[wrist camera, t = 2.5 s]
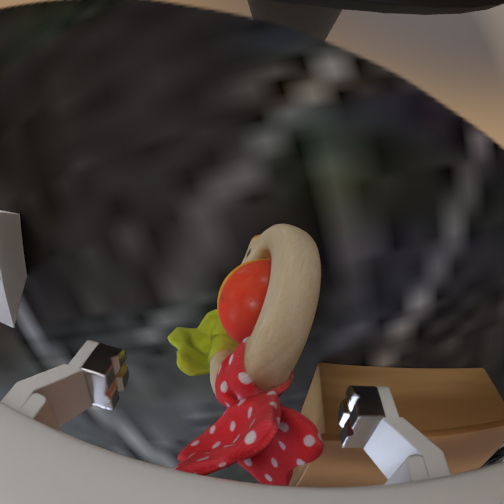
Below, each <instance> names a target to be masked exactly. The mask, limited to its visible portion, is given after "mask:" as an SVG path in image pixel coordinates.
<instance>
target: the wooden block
mask: <svg viewBox="0 0 504 504" xmlns="http://www.w3.org/2000/svg"><path fill="white" fill-rule="evenodd" d="M350 385H356V386H388V387H389V388H390V391H391V394H392V397H393V400H394V402H395V405H396V408H397V411H398V414H399V417H403V418H404V419H405V420H407V421H408V422H409V423H410V424H411V425H413V426H414V427H415V428H416V429H417V430H418V431H420V432H421V433H422V434H423V435H424V436H426V437H427V438H428V439H429V440H430V441H432V442H433V443H434V444H435V445H436V446H438V447H439V448H440V449H441V450H442V451H443V452H444V455H445V458H446V461H447V464H448V467H449V470H450V473H451V475H453V474H458V473H462V472H467V471H471V470H475V469H479V468H480V467H481V466H482V465H483V464H484V463H485V462H486V461H487V460H488V459H489V458H490V457H491V456H492V455H493V454H494V453H495V452H496V451H497V450H498V449H499V448H500V447H501V445H502V444H503V443H504V401H503V400H502V398H501V396H500V394H499V393H498V391H497V389H496V388H495V386H494V384H493V382H492V381H491V379H490V378H489V376H488V374H487V373H486V371H485V369H484V368H392V367H372V366H356V365H342V364H330V363H318V364H317V367H316V370H315V373H314V376H313V379H312V382H311V385H310V388H309V391H308V394H307V396H306V399H305V402H304V405H303V407H302V410H301V414H302V415H304V416H305V417H307V418H308V419H310V420H311V421H312V422H313V423H314V424H315V425H316V427H317V429H318V432H319V435H320V437H321V439H322V441H323V443H324V449H323V452H322V454H321V456H320V457H318V458H317V459H316V460H314V461H313V462H311V463H307V464H304V465H299V466H297V467H295V468H294V469H293V475H292V478H291V481H290V484H289V486H298V487H356V486H373V485H384V484H385V483H386V482H387V481H388V479H387V478H386V476H385V475H384V474H383V473H382V472H381V470H380V469H379V468H378V467H377V465H376V464H375V463H374V462H373V460H372V459H371V458H370V457H369V455H368V454H367V453H366V452H365V450H364V449H363V448H346V447H342V444H341V437H340V433H341V431H342V429H343V428H342V427H341V426H340V425H339V422H338V412H339V407H340V404H341V402H342V400H344V399H345V398H347V397H346V391H347V388H348V387H349V386H350Z"/></svg>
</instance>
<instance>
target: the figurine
mask: <svg viewBox="0 0 504 504" xmlns="http://www.w3.org/2000/svg"><path fill="white" fill-rule="evenodd" d="M26 278H27V271H26V265H25V258H24V250H23V242H22V233H21V222H20V214H17V213H12V212H7V211H2V210H0V322H2V323H4V324H6V325H8V326H10V327H13V328H14V327H15V322H16V317H17V313H18V309H19V305H20V301H21V297H22V293H23V289H24V285H25V282H26Z"/></svg>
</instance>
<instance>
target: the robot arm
mask: <svg viewBox="0 0 504 504" xmlns="http://www.w3.org/2000/svg"><path fill="white" fill-rule="evenodd" d="M126 359H127V357H126V352H125V351H124V350H122V349H118V348H115V347H112V346H108V345H105V344H102V343H97V342H94V341H91V340H89V341H86V343H85V344H84V345H83V346H82V348H81V349H80V350H79V351H78V353H77V354H76V355H75V356H74V358H73V359H72V360H71V361H70V363H69V364H68V365H67V364H63V365H60V366H58V367H55V368H53V369H50V370H48V371H45V372H42V373H40V374H37V375H35V376H32V377H29V378H27V379H24V380H21V381H19V382H17V383H16V384H15V385H14V386H13V387H12V389H11V390H10V391H9V392H8V393H7V395H6V396H5V397H4V398H3V400H2V401H0V504H504V462H500V463H497V464H493V465H490V466H486V467H483V468H479V469H475V470H471V471H467V472H462V473H458V474H453V475H451V473H450V470H449V467H448V464H447V461H446V458H445V455H444V452H443V451H442V450H441V449H440V448H439V447H438V446H436V445H435V444H434V443H433V442H432V441H430V440H429V439H428V438H427V437H426V436H424V435H423V434H422V433H421V432H420V431H418V430H417V429H416V428H415V427H414V426H413V425H411V424H410V423H409V422H408V421H407V420H405V419H404V418H403V417H399V414H398V411H397V408H396V405H395V402H394V400H393V397H392V394H391V391H390V388H389V387H388V386H356V385H350V386H349V387H348V388H347V391H346V397H347V398H345V399H344V400H342V402H341V404H340V407H339V412H338V422H339V425H340V426H341V427H342V428H343V429H342V431H341V433H340V437H341V444H342V447H346V448H363V449H364V450H365V452H366V453H367V454H368V455H369V457H370V458H371V459H372V460H373V462H374V463H375V464H376V465H377V467H378V468H379V469H380V470H381V472H382V473H383V474H384V475H385V476H386V478H387V479H388V481H387V482H386V483H385V484H384V485H373V486H356V487H298V486H281V485H268V484H258V483H249V482H241V481H234V480H227V479H220V478H214V477H209V476H203V475H198V474H193V473H188V472H184V471H179V470H175V469H171V468H167V467H163V466H159V465H155V464H151V463H148V462H144V461H141V460H137V459H134V458H131V457H127V456H124V455H121V454H118V453H115V452H112V451H109V450H106V449H103V448H101V447H98V446H95V445H92V444H90V443H87V442H85V441H82V440H80V439H77V438H75V437H72V436H70V435H67V434H65V433H63V432H61V430H60V428H59V426H61V425H62V424H64V423H66V422H67V421H69V420H71V419H72V418H74V417H75V416H77V415H79V414H80V413H82V412H84V411H85V410H87V409H88V408H90V407H92V406H93V405H96V406H99V407H103V408H106V409H109V410H114V408H115V406H116V404H117V402H118V400H119V394H118V393H119V392H121V391H123V390H124V389H125V387H126V385H127V381H128V376H129V371H128V367H127V365H126V364H125V363H124V362H125V361H126Z"/></svg>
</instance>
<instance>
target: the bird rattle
mask: <svg viewBox="0 0 504 504" xmlns="http://www.w3.org/2000/svg"><path fill="white" fill-rule="evenodd" d="M320 285H321V262H320V256H319V251H318V248H317V246H316V244H315V242H314V240H313V239H312V238H311V236H310V235H309V234H308V233H306V232H305V231H303V230H302V229H300V228H297V227H295V226H292V225H289V224H276V225H274V226H272V227H270V228H268V229H267V230H266V231H264V232H263V233H262V234H261V235H257V236H255V237H253V238H252V240H251V242H250V244H249V247H248V250H247V253H246V255H245V257H244V260H243V262H242V264H241V265H240V266H238V267H236V268H235V269H234V270H233V271H232V272H230V274H229V275H228V276H227V277H226V278H225V280H224V282H223V283H222V285H221V288H220V290H219V294H218V300H217V309H215V310H213V311H210V312H209V313H207V314H206V316H205V317H204V319H203V320H202V322H201V324H200V325H199V327H198V328H196V329H191V328H182V327H177V328H176V329H175V330H174V331H173V332H172V333H171V334H170V335H169V336H168V340H169V342H170V343H171V344H172V345H173V346H175V347H176V348H177V349H178V351H177V365H178V367H179V368H180V370H181V371H182V372H184V373H185V374H187V375H190V376H196V375H202V374H208V373H210V381H211V385H212V389H213V391H214V393H215V395H216V398H217V400H218V401H219V402H220V403H221V404H222V405H224V406H225V407H227V409H226V410H225V412H224V413H223V415H222V416H221V417H220V418H219V419H218V420H217V421H216V422H215V423H214V424H213V425H211V426H210V427H209V428H208V429H207V430H206V431H205V432H204V433H203V434H202V435H201V436H200V437H198V438H197V439H195V440H194V441H192V442H191V443H190V444H189V445H187V446H186V447H185V448H184V449H183V450H182V451H181V452H180V453H179V455H178V460H179V461H180V463H179V464H178V465H176V466H175V467H174V468H172V469H175V470H179V471H184V472H188V473H193V474H198V475H203V476H205V475H208V474H210V473H213V472H215V471H218V470H220V469H223V468H225V467H228V466H231V465H233V464H234V463H236V462H238V463H239V464H240V465H241V466H242V467H243V468H245V469H246V470H247V471H248V472H249V473H250V474H251V475H252V476H253V477H255V478H256V479H257V480H258V481H259V482H260V483H262V484H268V485H281V486H289V484H290V481H291V478H292V475H293V469H294V468H295V467H297V466H299V465H304V464H307V463H311V462H313V461H314V460H316V459H317V458H318V457H320V456H321V454H322V452H323V449H324V443H323V441H322V439H321V437H320V435H319V432H318V429H317V427H316V425H315V424H314V423H313V422H312V421H311V420H310V419H308V418H307V417H305V416H304V415H302V414H301V413H299V412H297V411H295V410H293V409H290V408H287V407H284V406H282V405H281V404H280V400H279V396H280V395H281V394H282V393H283V392H284V391H286V390H287V389H288V387H289V386H290V384H291V382H292V378H293V368H294V367H295V365H296V363H297V361H298V359H299V357H300V355H301V353H302V351H303V348H304V346H305V343H306V341H307V338H308V335H309V332H310V330H311V326H312V323H313V320H314V317H315V313H316V308H317V304H318V299H319V293H320Z"/></svg>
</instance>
